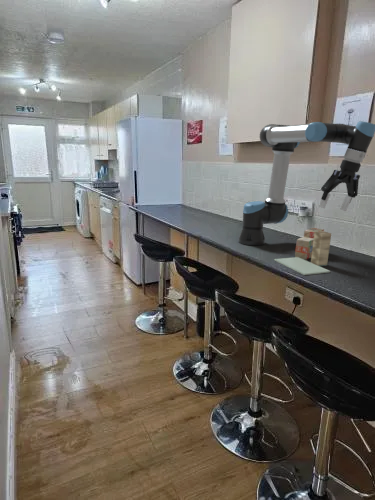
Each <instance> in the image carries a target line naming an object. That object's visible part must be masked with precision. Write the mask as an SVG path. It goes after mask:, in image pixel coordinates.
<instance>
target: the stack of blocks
mask: <svg viewBox="0 0 375 500" xmlns="http://www.w3.org/2000/svg"><path fill="white" fill-rule="evenodd" d="M319 231H325V229H323V228H316V227H310V228H308V229H306V230H304V231H303V236H301V237H299V238H297V239H296V243H295V244H296V245H295V250H294V257H299V258H301V259H304V260H306V261H308V259H311V257H312V248H313V240H314V232H319Z"/></svg>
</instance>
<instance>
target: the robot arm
mask: <svg viewBox="0 0 375 500" xmlns="http://www.w3.org/2000/svg"><path fill="white" fill-rule="evenodd" d="M374 135H375V124H374V123H372V122H368V121H363V120H362V121H359V120H358V122H357V124H356V125H350V124H344V123H330V122H321V121H314V122H313V121H312V122H310V123H304V124H294V125H293V124H292V125H290V124H287V125H286V124H275V123H274V124H273V123H271V124H270V123H269V124H267V125H265V126H264V127H262V128H261V130H260V132H259V141H260V143H261V144H262V145H263V146H265V147H267V148H272V153H273V161H272V167H271V175H270V181H269V189H268V196H267V197H266V198H265V199H264V201H261V200H257V201H256V200H255V201H249V202H246V203H244V204H243V209H242V213H243V214H242V227H241V228H242V229H241V231H240V234H239V237H238V243H239V244H242V245H248V246H262V245H265V244H266V238H265V234H264V225H268V224H269V225H270V224H274V225H275V224H276V225H277V224H281V223H283V222H284V221H286V220H287V217H288V215H289V208H288V205H287V204H286V200H285V199H284V197H285V190H286V186H287V180H288V173H289V165H290V159H291V156H292V154H294V152H295V149H296V148H297V147H299V145H300V144H301V143H310V142H311V143H314V142H315V143H317V142H319V143H320V142H321V143H336V144H337V143H339V144H343V145H344V144H345V145H348V146H347V148H346V150H345V152H344V156H343V159H342V160H341V163H340V166H339V169H340V170H338V169H334V170H333V172H332V174H331V175H330V176H329V178H328V179H327V180H326V181H325V183H324V184H323V185H322V186H321V187H320V188H321V189H320V190H321V191H322V192H323V193H322V196H321V198H320V199H321V200H320V203H319V205H318V207H320V208H321V209H325V208H326V206H327V203H328V201H329V198H330V196H331V192H332V191H333V190H334V189H336V188H337V187H338V186H339V185H340V184H345V186H346V192H347V195H345V197H344V199H343V202H342V205H341V206H340V210H342V211H344V212H347V209H348V207H349V205H350V203H351V202H352V199H353V198H356V197H357V196H358V192H359V182H360V181H359V180H360V178H361V175H360V174H357V173H358V172H359V171H360V169H361V166H362V165H361V163H362V162H363V160H364V158H365V156H366V153H367V151H368V149H369V148H370V147H369V146H370V144H371V143H372V140H373V138H374Z"/></svg>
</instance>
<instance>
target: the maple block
mask: <svg viewBox="0 0 375 500" xmlns="http://www.w3.org/2000/svg"><path fill="white" fill-rule="evenodd" d="M331 239H332V233H331V232H328V231H325V230H324V231H319V232H314V240H313V248H312V257H310V262H311V263H313V264H315V265H318V266H320V267H325V266H328V261H329V260H328V259H329V255H330V254H329V253H330V247H331V246H330V245H331Z"/></svg>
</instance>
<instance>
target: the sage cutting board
mask: <svg viewBox="0 0 375 500" xmlns="http://www.w3.org/2000/svg"><path fill="white" fill-rule="evenodd" d="M273 261H275V262H277V264H280V265H282V266H285V267H287V268H289V269H291V270H293V271H295V272H297V273H299V274H301V275H303V276H308V275H318V274H319V275H320V274H326V273H331V270H329V269H326V268H324V267H323V266H318V265H315V264H313V263H311V261H308V260H306V259H301V258H299V257H295V256H294V257H283V258H274V259H273Z"/></svg>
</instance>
